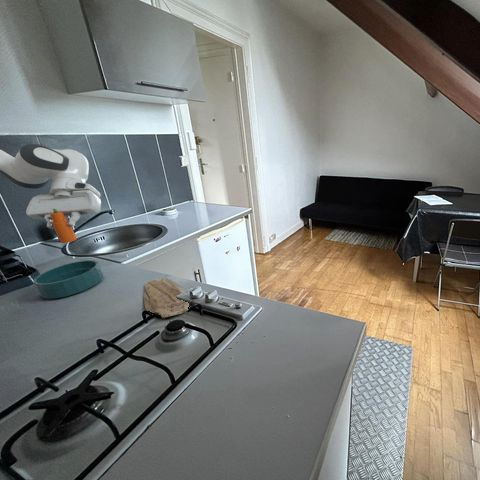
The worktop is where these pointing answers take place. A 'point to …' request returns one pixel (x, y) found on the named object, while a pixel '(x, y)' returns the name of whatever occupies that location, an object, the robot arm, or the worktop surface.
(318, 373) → the worktop surface
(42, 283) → the bowl
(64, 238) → the carrot
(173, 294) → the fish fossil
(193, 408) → the worktop surface
